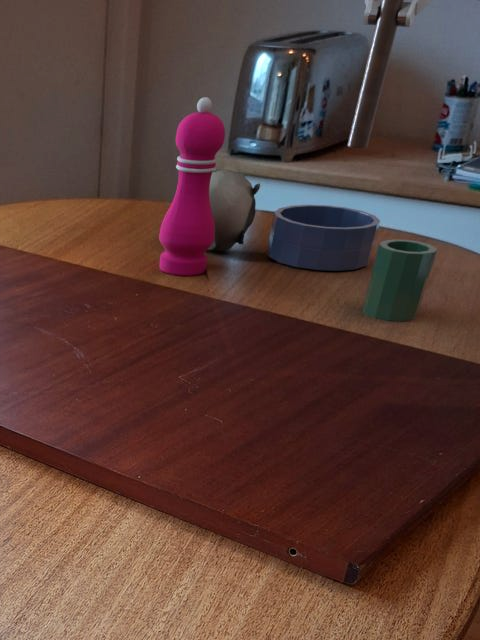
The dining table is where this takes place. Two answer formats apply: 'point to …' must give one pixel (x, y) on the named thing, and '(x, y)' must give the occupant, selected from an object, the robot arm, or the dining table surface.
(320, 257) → the bowl
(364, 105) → the stick
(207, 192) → the pepper mill
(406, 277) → the holder
